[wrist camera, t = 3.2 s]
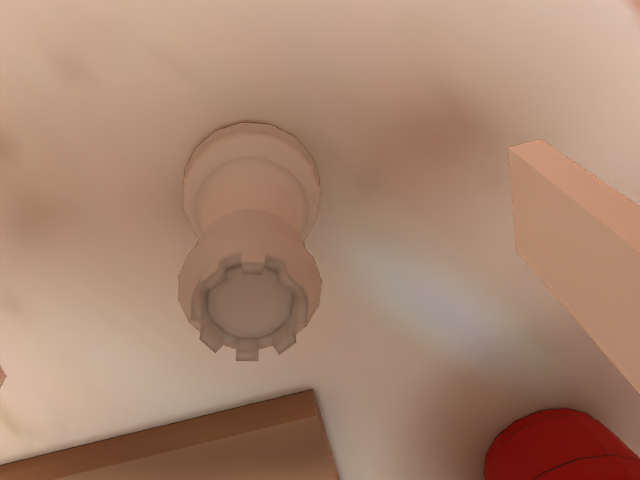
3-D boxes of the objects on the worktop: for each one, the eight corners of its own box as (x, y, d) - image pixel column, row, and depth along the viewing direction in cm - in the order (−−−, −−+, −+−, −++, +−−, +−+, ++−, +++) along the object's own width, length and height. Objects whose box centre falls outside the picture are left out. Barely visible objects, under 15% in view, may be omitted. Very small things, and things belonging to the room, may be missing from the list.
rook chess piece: (277, 92, 19) (290, 178, 12) (341, 206, 21) (387, 341, 13) (157, 160, 19) (98, 282, 12) (230, 265, 21) (216, 425, 14)
